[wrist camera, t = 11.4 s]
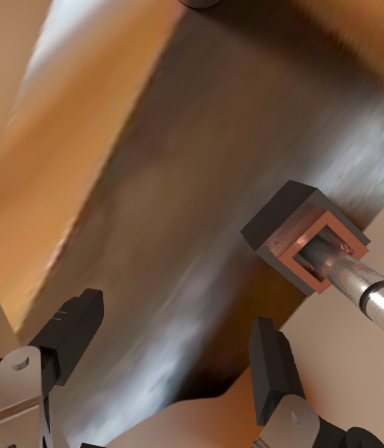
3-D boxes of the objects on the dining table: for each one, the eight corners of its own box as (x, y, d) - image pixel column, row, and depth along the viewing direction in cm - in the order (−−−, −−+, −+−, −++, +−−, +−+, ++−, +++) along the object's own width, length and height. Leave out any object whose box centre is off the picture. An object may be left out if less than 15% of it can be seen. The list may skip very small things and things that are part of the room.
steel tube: (313, 228, 31) (417, 291, 18) (331, 245, 32) (443, 317, 19) (292, 249, 32) (376, 325, 18) (310, 265, 33) (403, 348, 19)
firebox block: (289, 179, 37) (329, 191, 27) (334, 223, 40) (386, 249, 30) (240, 231, 39) (260, 260, 29) (285, 269, 42) (318, 308, 32)
